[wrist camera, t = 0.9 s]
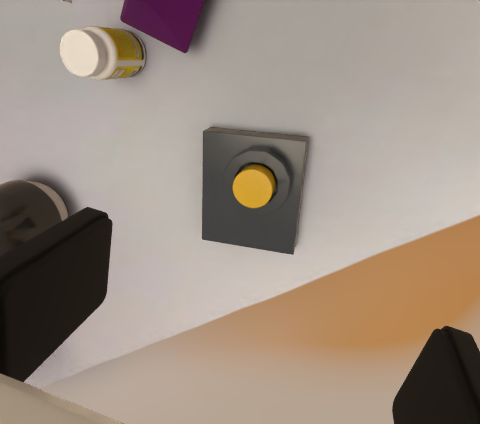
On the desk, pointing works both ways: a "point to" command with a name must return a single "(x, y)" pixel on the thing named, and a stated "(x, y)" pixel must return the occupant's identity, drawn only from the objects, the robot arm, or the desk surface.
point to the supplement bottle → (102, 53)
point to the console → (231, 210)
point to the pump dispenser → (27, 212)
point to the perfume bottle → (164, 19)
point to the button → (254, 186)
